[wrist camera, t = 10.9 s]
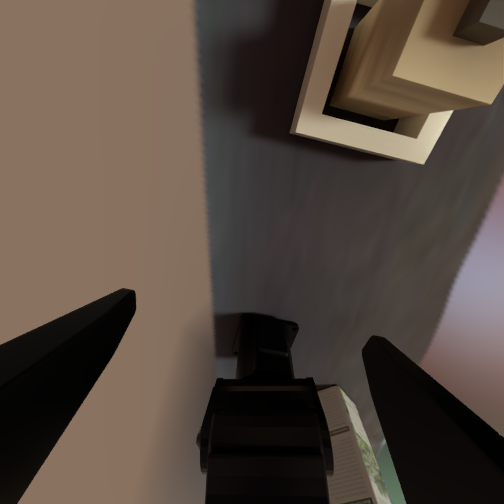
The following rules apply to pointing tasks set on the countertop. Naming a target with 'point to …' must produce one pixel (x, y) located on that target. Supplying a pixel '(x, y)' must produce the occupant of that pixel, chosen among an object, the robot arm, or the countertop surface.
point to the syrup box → (350, 454)
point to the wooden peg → (423, 58)
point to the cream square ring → (345, 132)
